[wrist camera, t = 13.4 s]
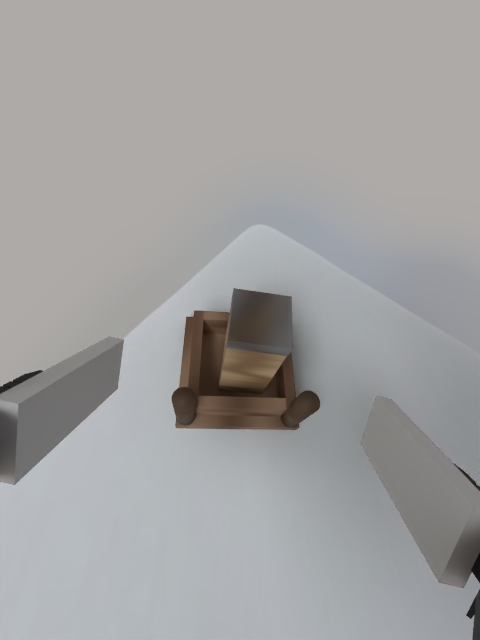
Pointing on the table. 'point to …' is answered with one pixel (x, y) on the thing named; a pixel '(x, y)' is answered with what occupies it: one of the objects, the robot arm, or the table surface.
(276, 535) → the table surface
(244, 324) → the block
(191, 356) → the brown square open box
